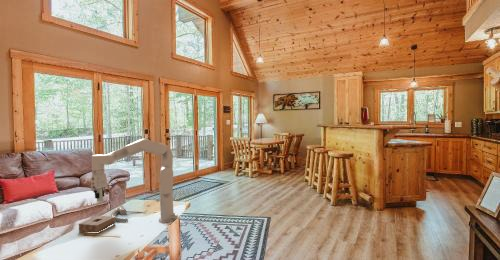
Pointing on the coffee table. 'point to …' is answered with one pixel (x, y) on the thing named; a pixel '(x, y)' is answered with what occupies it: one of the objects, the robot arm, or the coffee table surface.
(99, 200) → the peg
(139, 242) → the coffee table surface
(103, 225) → the socket block
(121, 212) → the faucet
